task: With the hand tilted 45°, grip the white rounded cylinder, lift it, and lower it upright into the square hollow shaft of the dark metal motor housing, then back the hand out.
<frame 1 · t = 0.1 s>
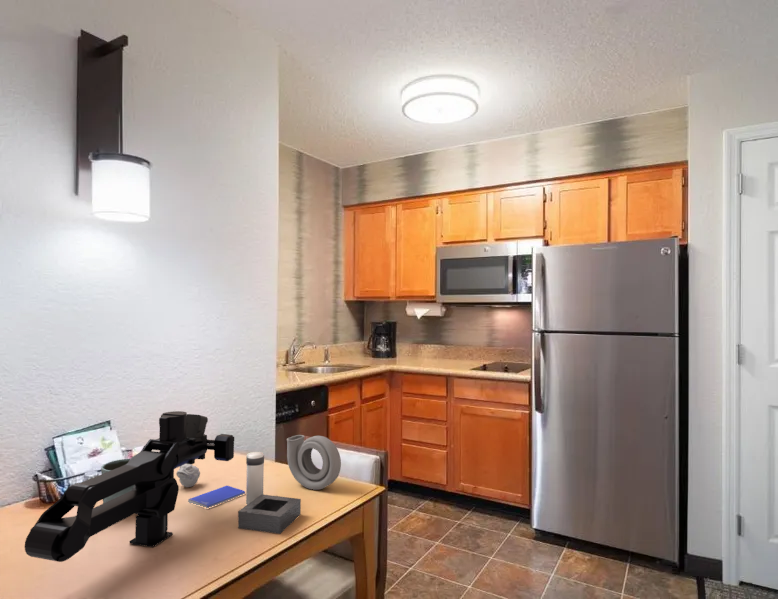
hand: (219, 437, 136), 17 cm above the table, tool horizontal, fingers open, 9 cm apart
housing: (270, 521, 122), on the table
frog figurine: (188, 487, 144), on the table
turbocharger housing: (313, 488, 145), on the table
hard drive: (217, 501, 136), on the table
white rounded cylinder: (254, 502, 133), on the table
grey green pot: (123, 511, 127), on the table
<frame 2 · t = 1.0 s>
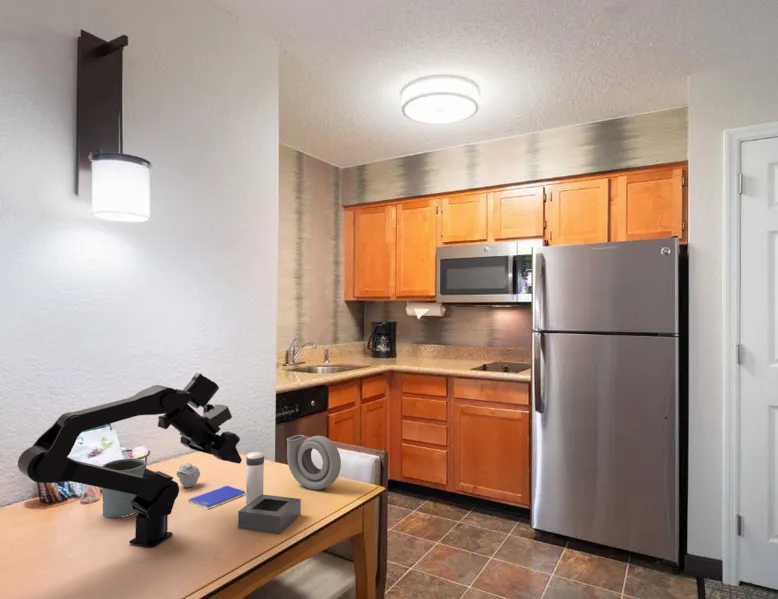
hand: (230, 458, 127), 14 cm above the table, tool tilted 45°, fingers open, 9 cm apart
nothing on the table moved.
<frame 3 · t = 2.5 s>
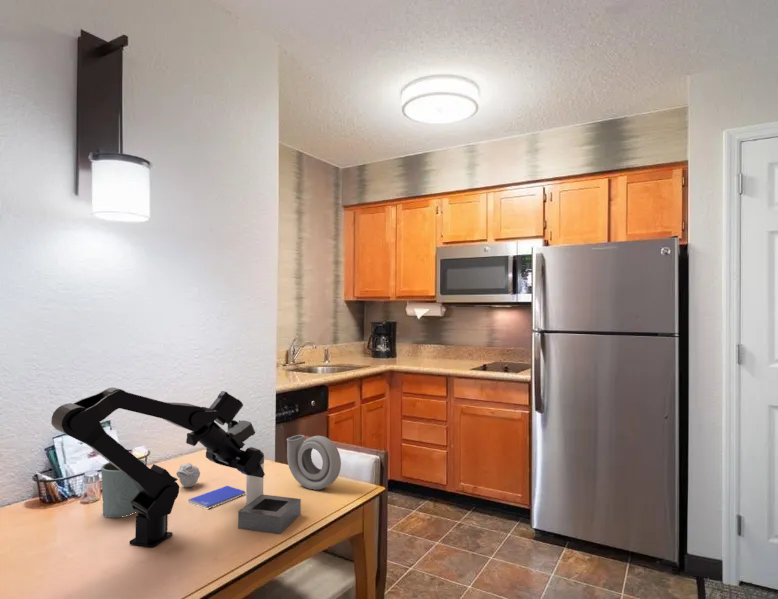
hand: (253, 472, 133), 8 cm above the table, tool tilted 45°, fingers open, 9 cm apart
nothing on the table moved.
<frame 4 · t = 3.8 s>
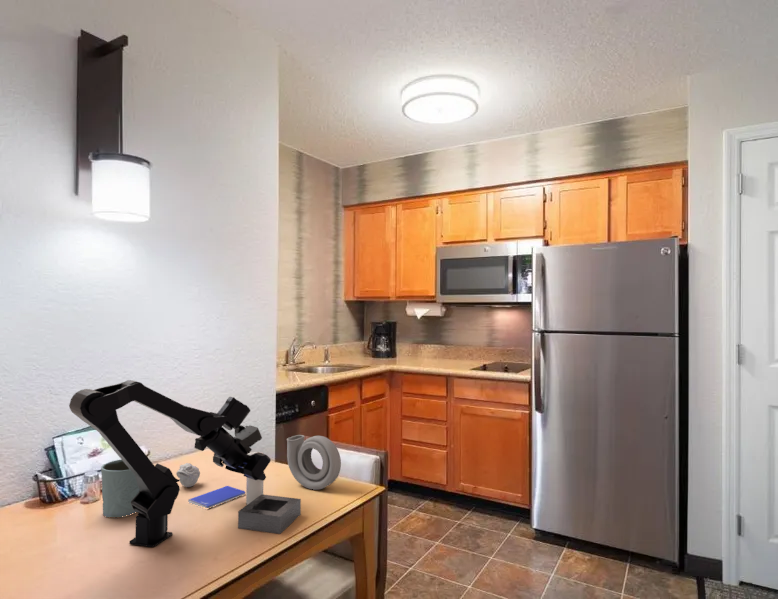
hand: (259, 476, 134), 7 cm above the table, tool tilted 45°, fingers closed on white rounded cylinder, 4 cm apart
white rounded cylinder: (254, 502, 133), on the table, touching gripper
everything else where it was.
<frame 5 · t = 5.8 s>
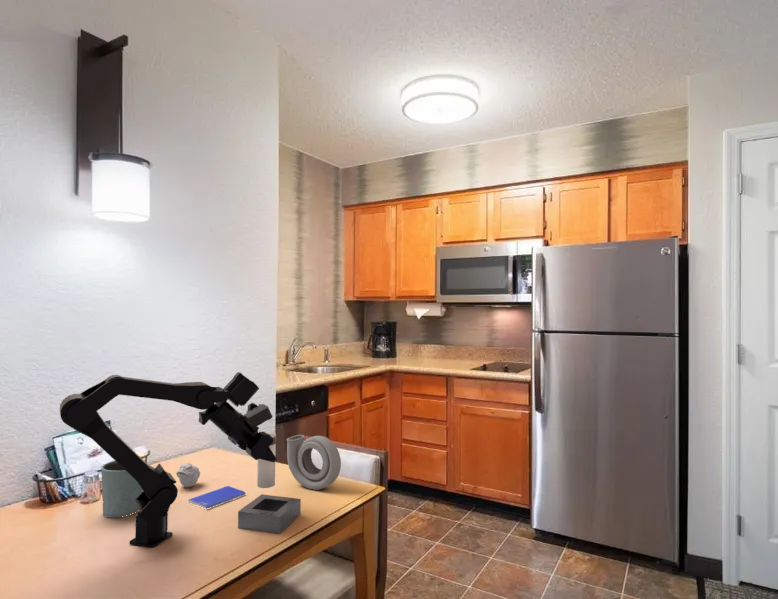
hand: (271, 458, 128), 13 cm above the table, tool tilted 45°, fingers closed on white rounded cylinder, 4 cm apart
white rounded cylinder: (266, 485, 127), point 7 cm above the table, touching gripper
everything else where it was.
when the fingers open (8 cm above the table, at t = 8.0 s): white rounded cylinder drops 1 cm, resting in housing.
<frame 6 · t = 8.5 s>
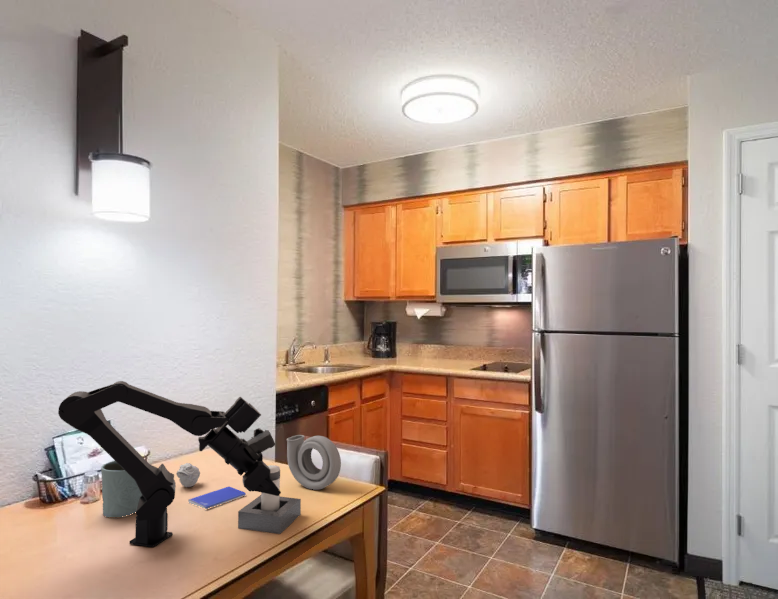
hand: (276, 487, 122), 8 cm above the table, tool tilted 45°, fingers open, 9 cm apart
white rounded cylinder: (270, 521, 122), resting in housing
everything else where it was.
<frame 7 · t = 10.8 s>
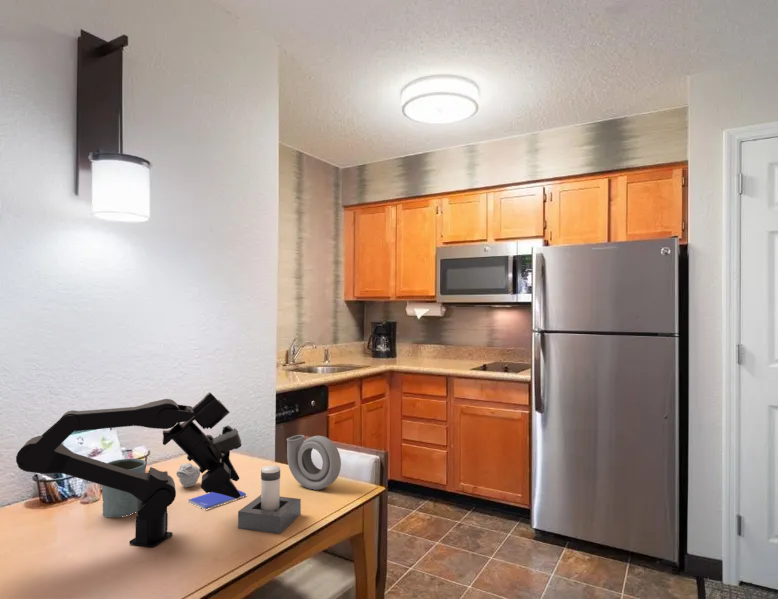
hand: (238, 488, 120), 9 cm above the table, tool tilted 40°, fingers open, 9 cm apart
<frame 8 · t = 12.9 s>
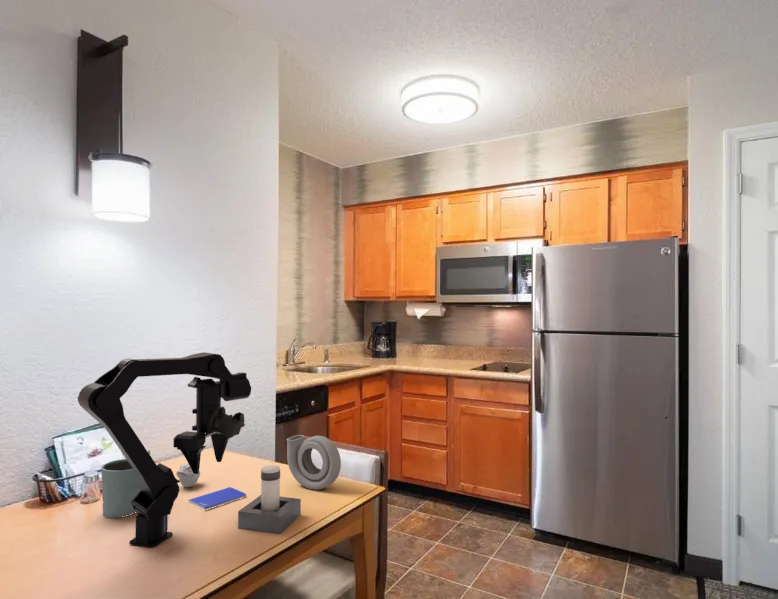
hand: (207, 467, 122), 13 cm above the table, tool pointing down, fingers open, 9 cm apart
at the end: white rounded cylinder 0.0 cm off-centre on the housing, point 0.0 cm above the housing's base; white rounded cylinder tilted 0°; the gripper is holding nothing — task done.
